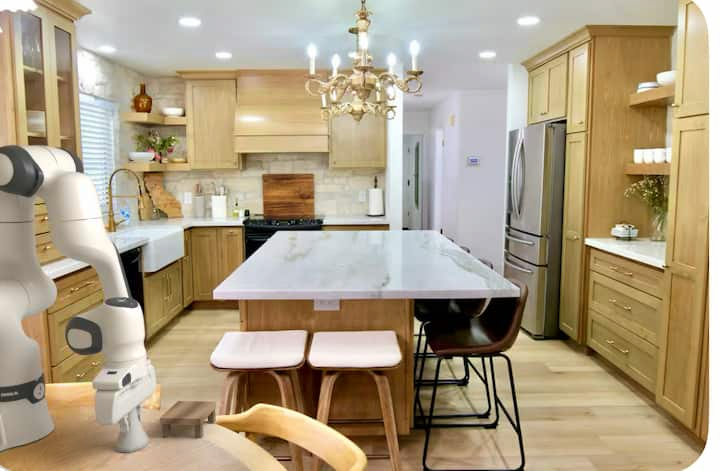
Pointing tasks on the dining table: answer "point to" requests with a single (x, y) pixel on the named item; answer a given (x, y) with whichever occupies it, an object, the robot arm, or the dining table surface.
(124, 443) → the flask
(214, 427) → the dining table surface
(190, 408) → the walnut stand
